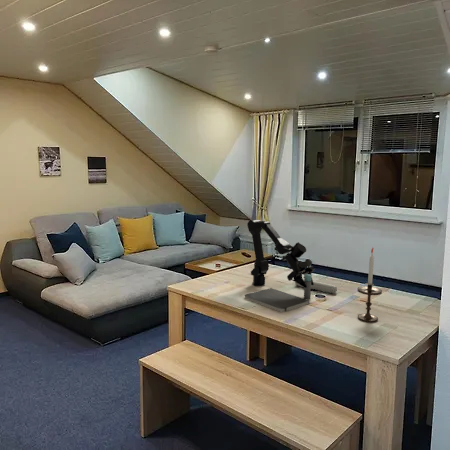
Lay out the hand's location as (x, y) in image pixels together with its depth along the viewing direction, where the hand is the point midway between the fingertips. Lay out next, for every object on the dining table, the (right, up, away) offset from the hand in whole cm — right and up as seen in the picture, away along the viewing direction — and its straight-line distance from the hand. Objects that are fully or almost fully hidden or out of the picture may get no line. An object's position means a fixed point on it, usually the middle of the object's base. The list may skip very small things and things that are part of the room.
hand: (309, 286), depth 227 cm
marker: (-1, -7, +2) cm, 7 cm away
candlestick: (+22, -12, -27) cm, 37 cm away
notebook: (-19, -8, -3) cm, 20 cm away
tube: (+7, -5, +18) cm, 20 cm away
